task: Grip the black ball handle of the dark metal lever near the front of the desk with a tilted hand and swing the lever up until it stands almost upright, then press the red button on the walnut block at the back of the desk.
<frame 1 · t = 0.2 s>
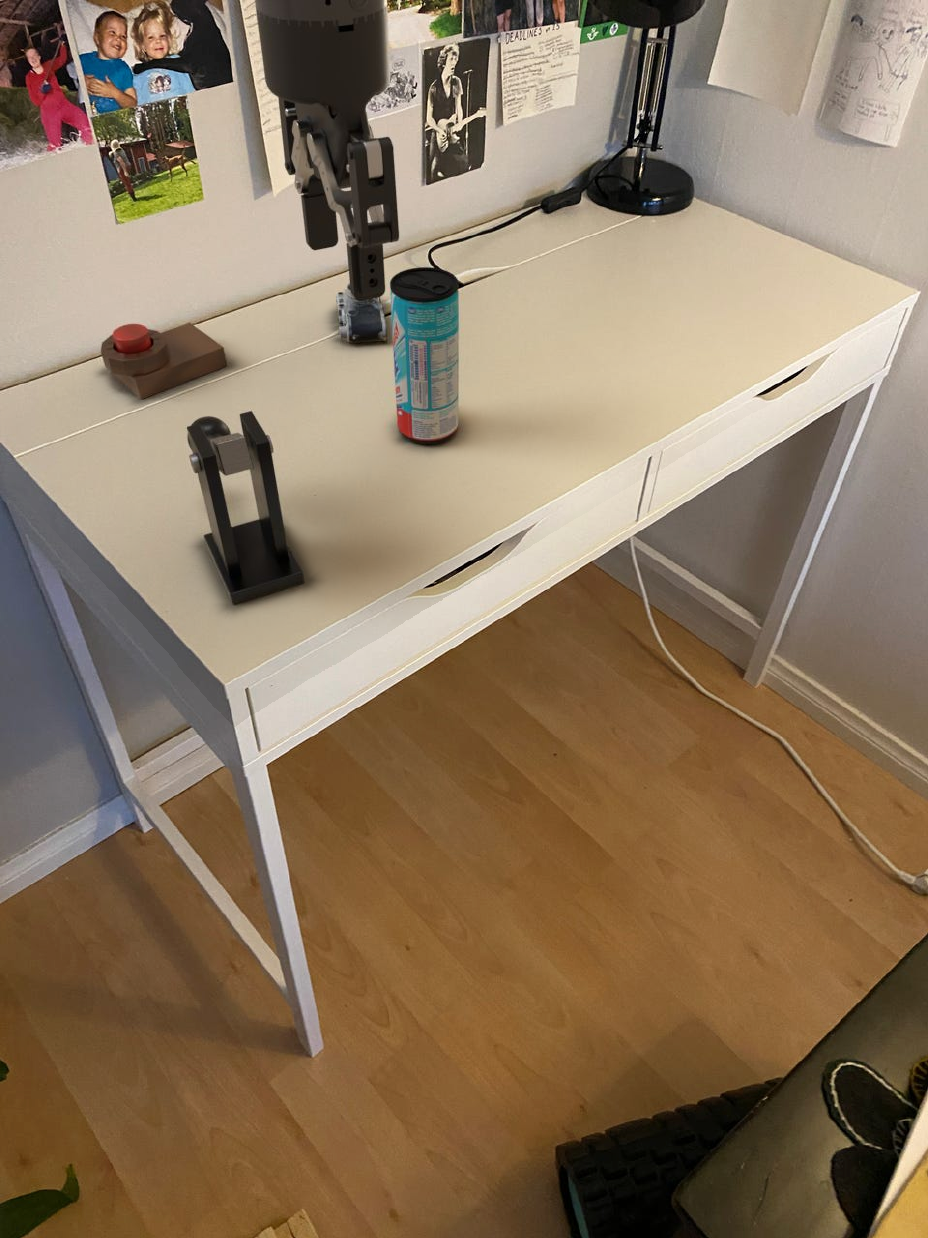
hand: (344, 270, 66), 23 cm above the table, tool pointing down, fingers open, 8 cm apart
button: (132, 339, 96), point 4 cm above the table, slide at 0.1 cm
button block: (168, 368, 100), on the table
beverage can: (428, 431, 93), on the table
bracket: (254, 563, 79), on the table
lever: (219, 445, 76), point 9 cm above the table, hinge at -25.0°
camera: (363, 326, 107), on the table
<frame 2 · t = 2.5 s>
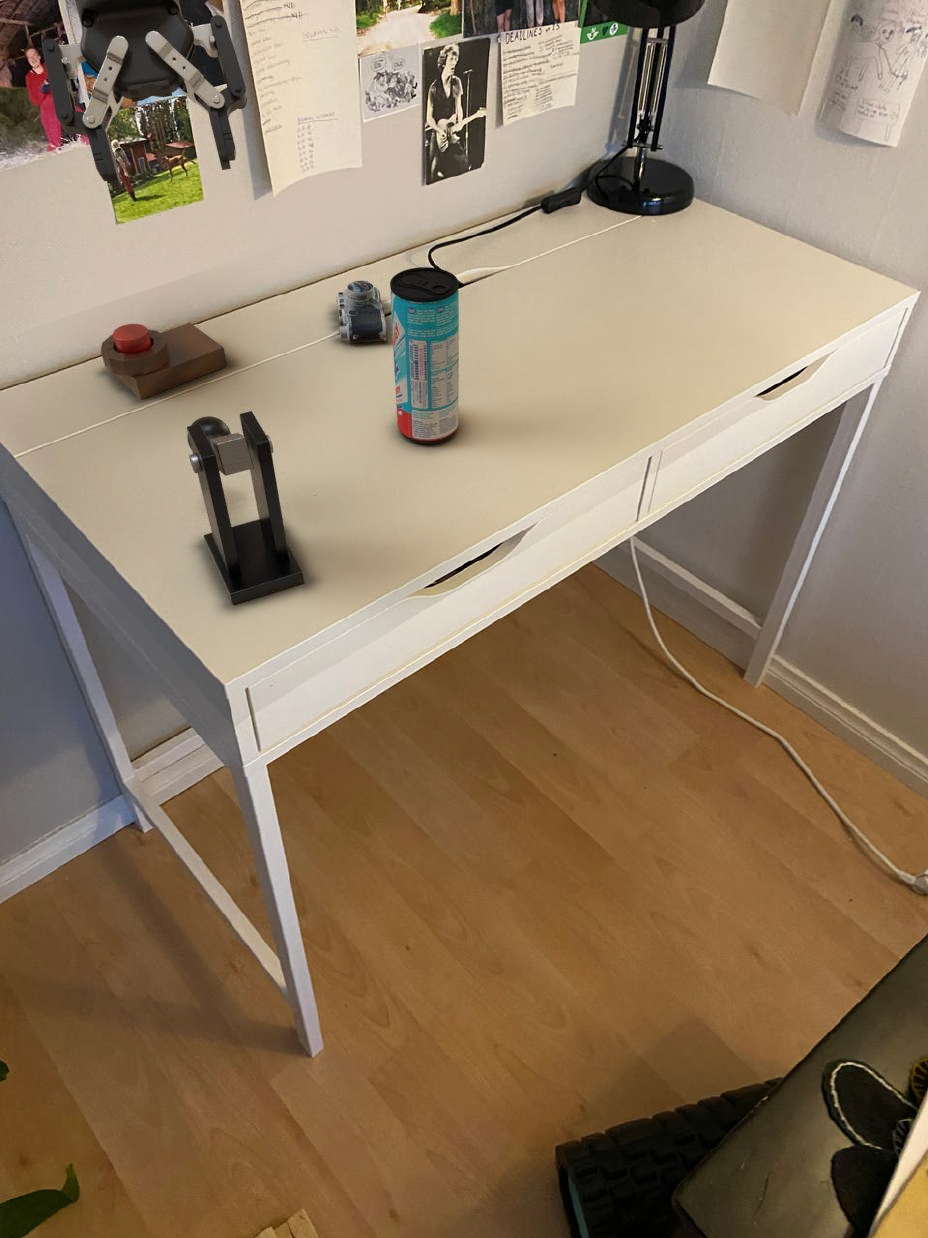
hand: (171, 175, 74), 24 cm above the table, tool tilted 40°, fingers open, 8 cm apart
nothing on the table moved.
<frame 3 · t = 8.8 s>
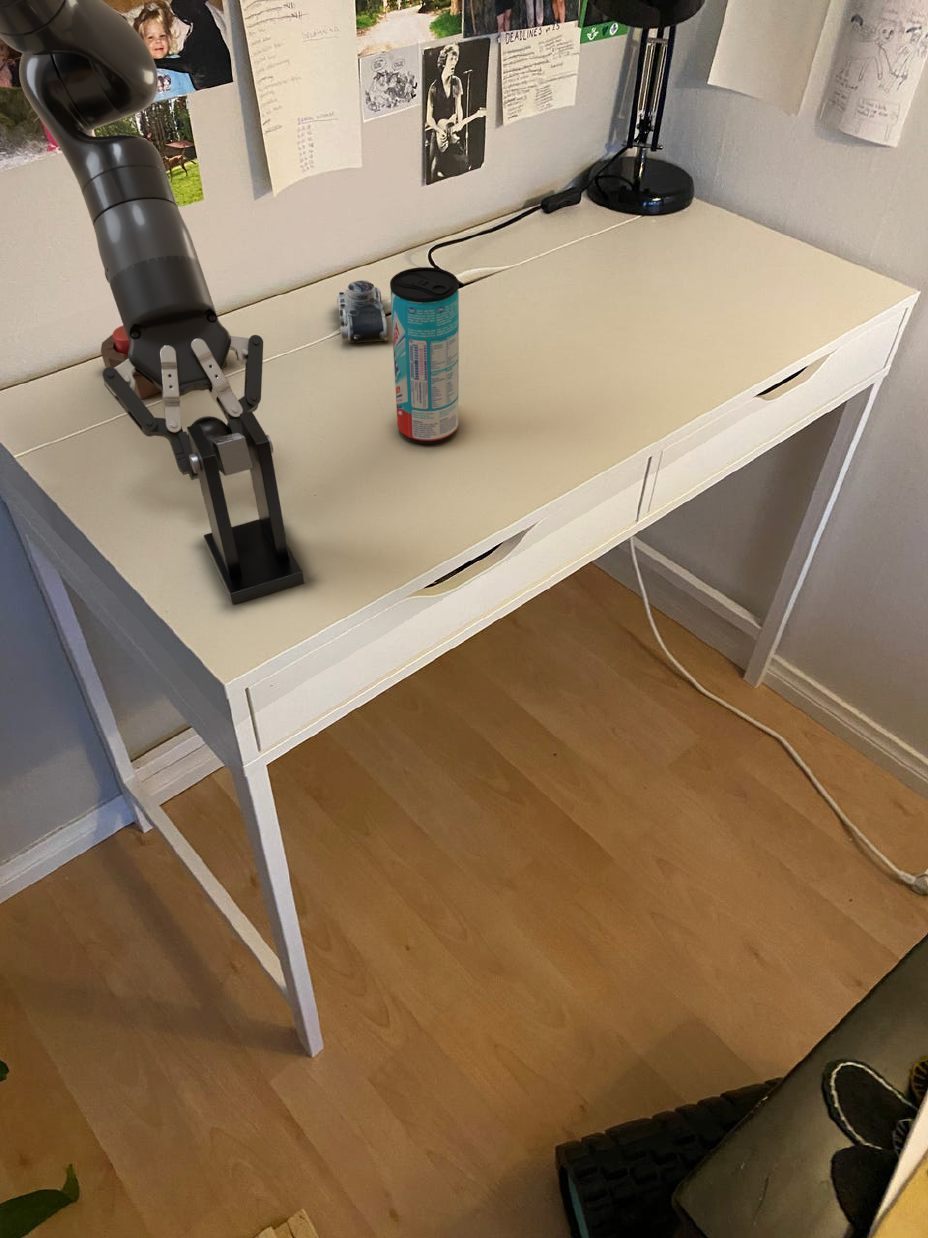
hand: (220, 470, 80), 5 cm above the table, tool tilted 45°, fingers closed on lever, 3 cm apart
lever: (219, 445, 76), point 9 cm above the table, hinge at -25.0°, touching gripper
everything else where it was.
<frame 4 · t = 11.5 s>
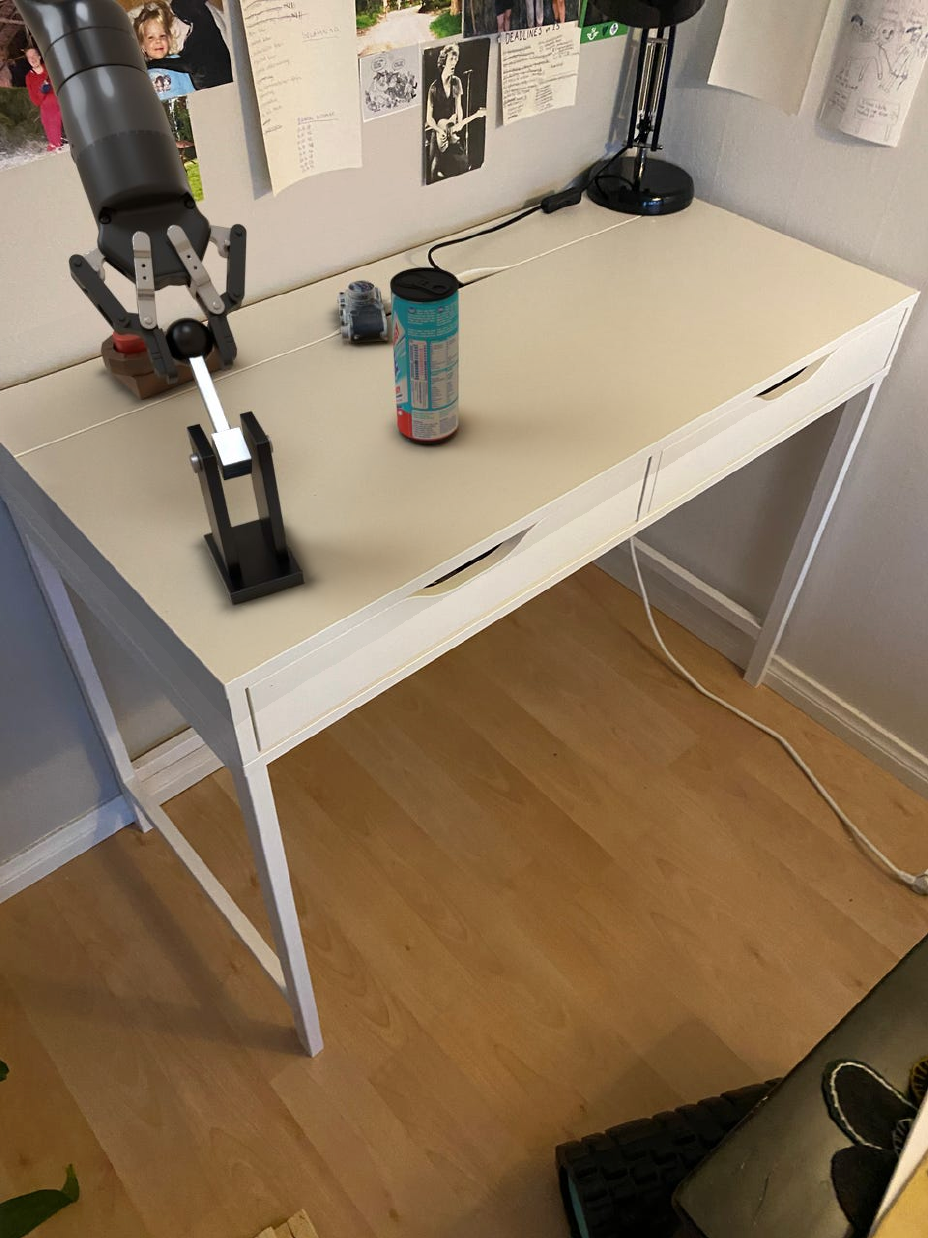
hand: (200, 373, 73), 14 cm above the table, tool tilted 45°, fingers closed on lever, 3 cm apart
lever: (209, 394, 72), point 13 cm above the table, hinge at 28.4°, touching gripper
everything else where it was.
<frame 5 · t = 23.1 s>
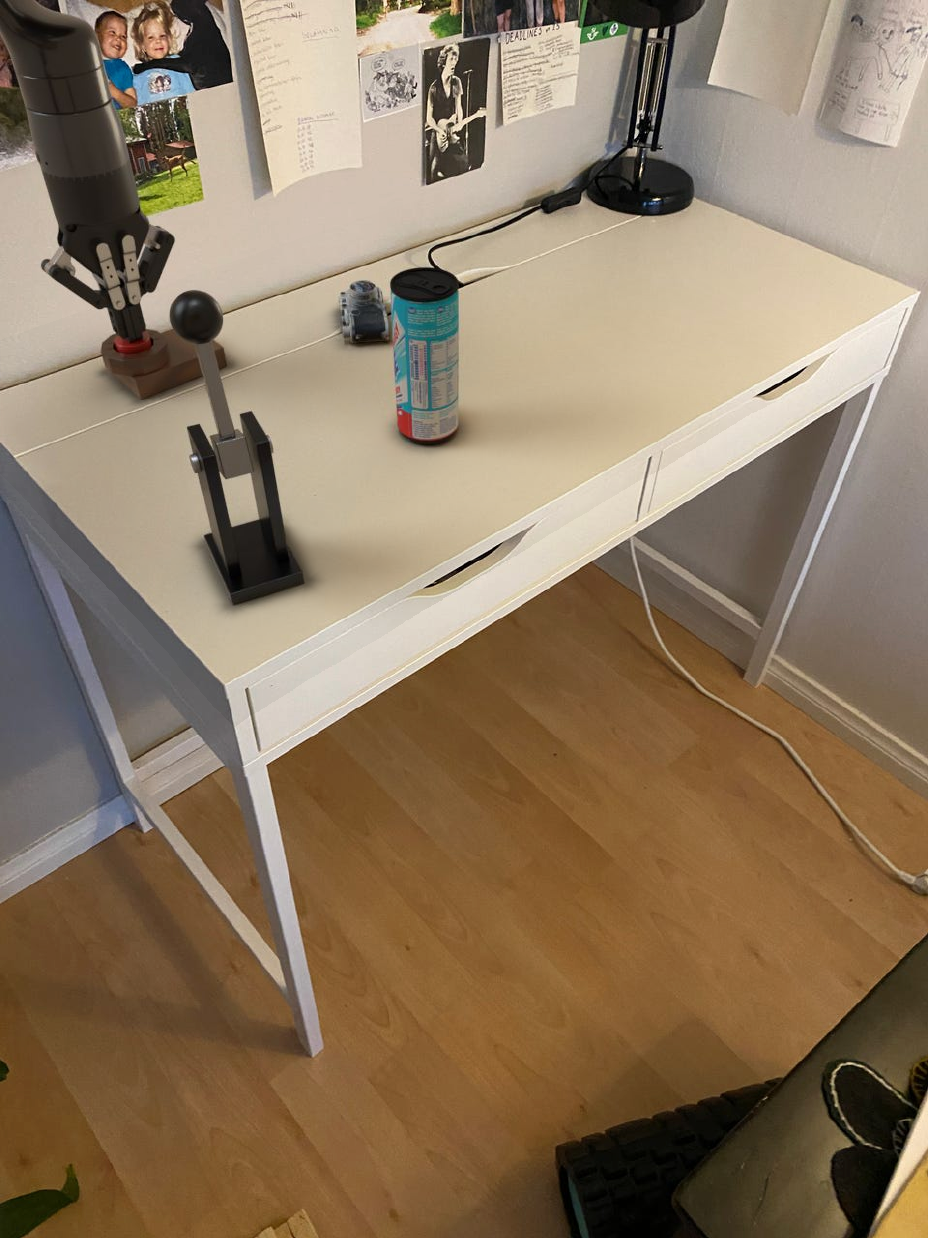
hand: (132, 337, 96), 5 cm above the table, tool pointing down, fingers closed
button: (133, 345, 96), point 4 cm above the table, slide at -0.6 cm, touching gripper
lever: (214, 385, 68), point 16 cm above the table, hinge at 72.9°
everything else where it was.
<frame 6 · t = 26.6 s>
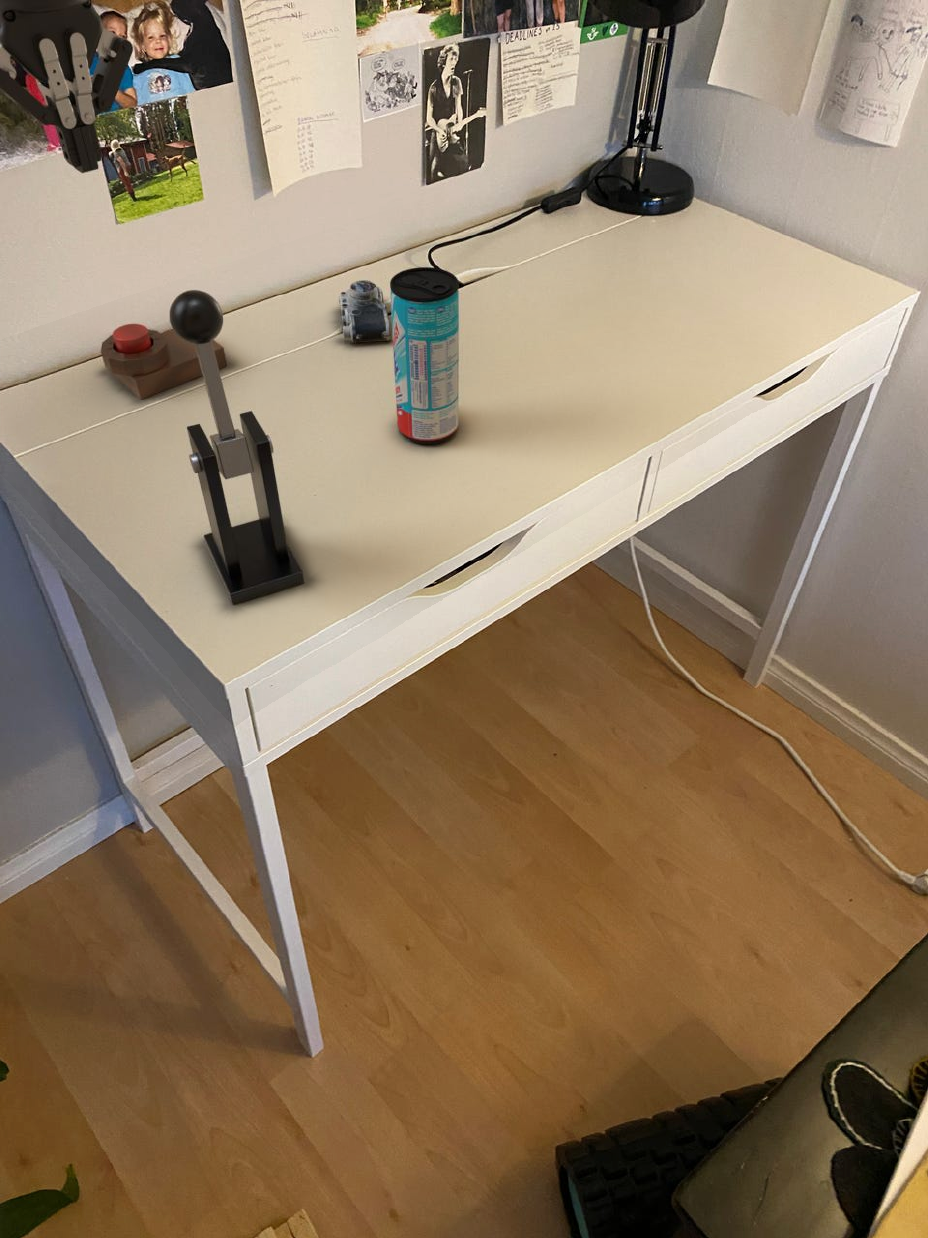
hand: (86, 168, 84), 21 cm above the table, tool pointing down, fingers closed
button: (132, 339, 96), point 4 cm above the table, slide at 0.1 cm
everything else where it was.
at the end: lever at +73° (first picture: -25°); button pushed in 1.1 cm at the most during the clip, back to where it started at the end; button slide at 0.1 cm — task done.
